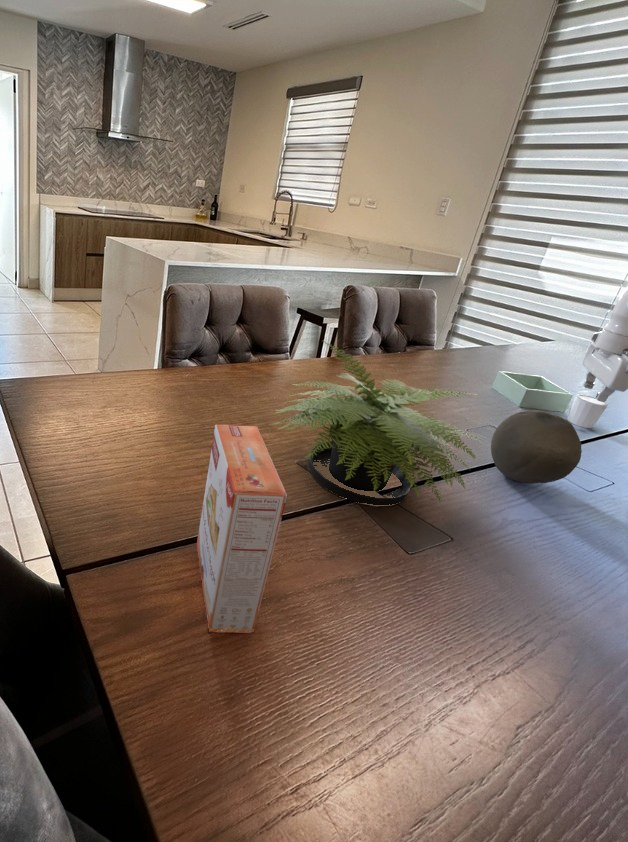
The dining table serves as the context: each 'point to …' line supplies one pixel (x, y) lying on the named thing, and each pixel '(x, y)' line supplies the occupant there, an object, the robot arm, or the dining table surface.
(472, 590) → the dining table surface
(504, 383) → the dish tub
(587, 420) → the white short cylinder
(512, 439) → the dark brown rounded lump
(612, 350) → the robot arm
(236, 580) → the cracker box
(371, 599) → the dining table surface
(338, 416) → the fern plant
